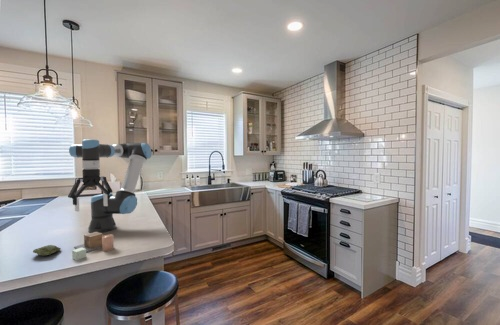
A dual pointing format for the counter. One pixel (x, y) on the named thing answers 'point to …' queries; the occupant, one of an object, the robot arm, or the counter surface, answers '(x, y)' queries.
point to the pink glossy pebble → (107, 242)
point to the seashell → (46, 250)
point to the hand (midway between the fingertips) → (92, 208)
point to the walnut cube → (93, 239)
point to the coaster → (88, 248)
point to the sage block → (79, 253)
